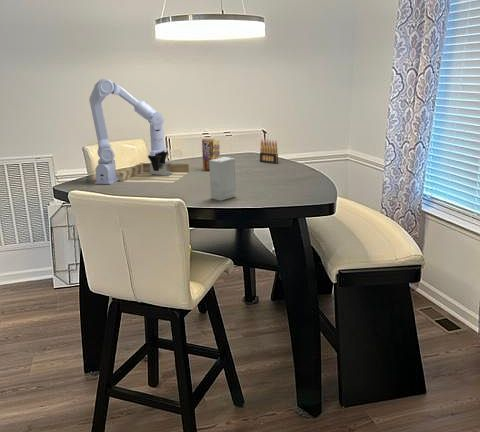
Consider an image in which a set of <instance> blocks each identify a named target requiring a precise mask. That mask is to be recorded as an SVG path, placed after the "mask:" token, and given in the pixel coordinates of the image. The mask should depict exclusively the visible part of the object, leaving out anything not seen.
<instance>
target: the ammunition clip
mask: <svg viewBox="0 0 480 432" xmlns="http://www.w3.org/2000/svg"><path fill="white" fill-rule="evenodd" d="M259 163H263V164H273V165H278V164H279V153H278V142H277V140H276V139H275V140H274V139H272V141H271V139H269V140H268V139H260V152H259Z"/></svg>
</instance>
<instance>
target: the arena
mask: <svg viewBox="0 0 480 432" xmlns="http://www.w3.org/2000/svg"><path fill="white" fill-rule="evenodd" d="M150 163H151V162H140V163H138V164H135V165H133V166H131V167H128V168H127V169H124V170H122V171H120V172H119V179H120V180H119V182H120V183H166V184H169V183H170V184H171V183H172V184H173V183H175V182H177V181H178V180H180V179H181V178H182V177H185V176H186V175H187V174H189V173H190V163H180V162H179V163H175V162H174V163H173V162H172V163H171V162H170V163H171V169H170V174H168V175H167V176H165V175H156V174H150Z"/></svg>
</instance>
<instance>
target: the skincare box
mask: <svg viewBox="0 0 480 432" xmlns="http://www.w3.org/2000/svg"><path fill="white" fill-rule="evenodd" d="M209 167H210V172H209V184H210V185H209V189H210V198H211V199H214V200H217V201H224V200H228V199H232V198H235V197H236V196H237V193H236V192H237V191H236V190H237V188H236V185H237V184H236V159H235V157H233V158H232V157H227V156H222V157H220V158H218V159H213V160H209Z"/></svg>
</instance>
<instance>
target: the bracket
mask: <svg viewBox="0 0 480 432" xmlns="http://www.w3.org/2000/svg"><path fill="white" fill-rule="evenodd" d="M149 163H150V174H156V175H165V176H167V175H168V174H170V169H171V162H168V161H167V162H166V161H165V163H159V171H154V170H153V167H152V164H151V162H149Z"/></svg>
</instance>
